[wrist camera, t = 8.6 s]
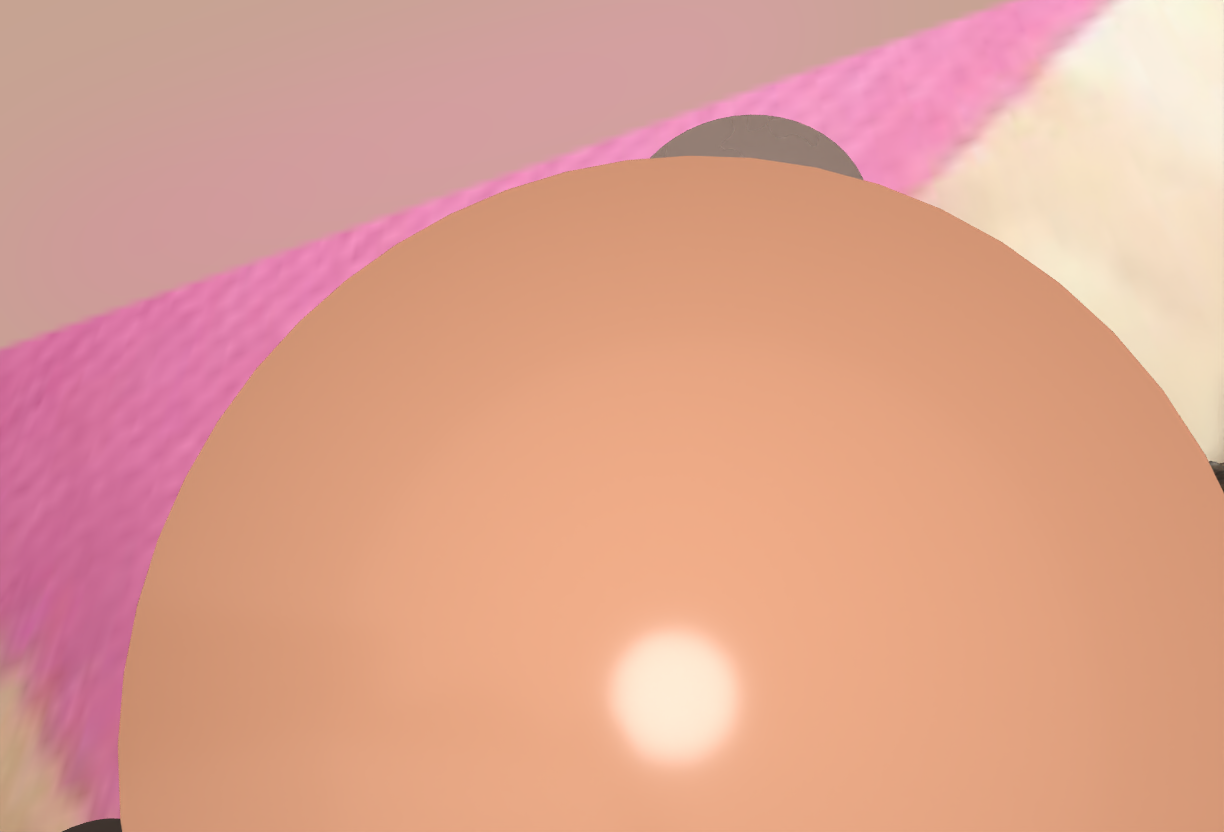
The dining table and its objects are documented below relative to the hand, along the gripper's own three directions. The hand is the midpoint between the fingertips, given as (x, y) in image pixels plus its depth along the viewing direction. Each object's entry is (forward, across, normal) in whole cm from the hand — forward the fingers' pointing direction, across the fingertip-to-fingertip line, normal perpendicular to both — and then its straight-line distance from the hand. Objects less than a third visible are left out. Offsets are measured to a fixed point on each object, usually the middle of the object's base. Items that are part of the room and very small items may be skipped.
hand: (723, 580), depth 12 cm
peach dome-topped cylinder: (+2, 0, +5) cm, 5 cm away
